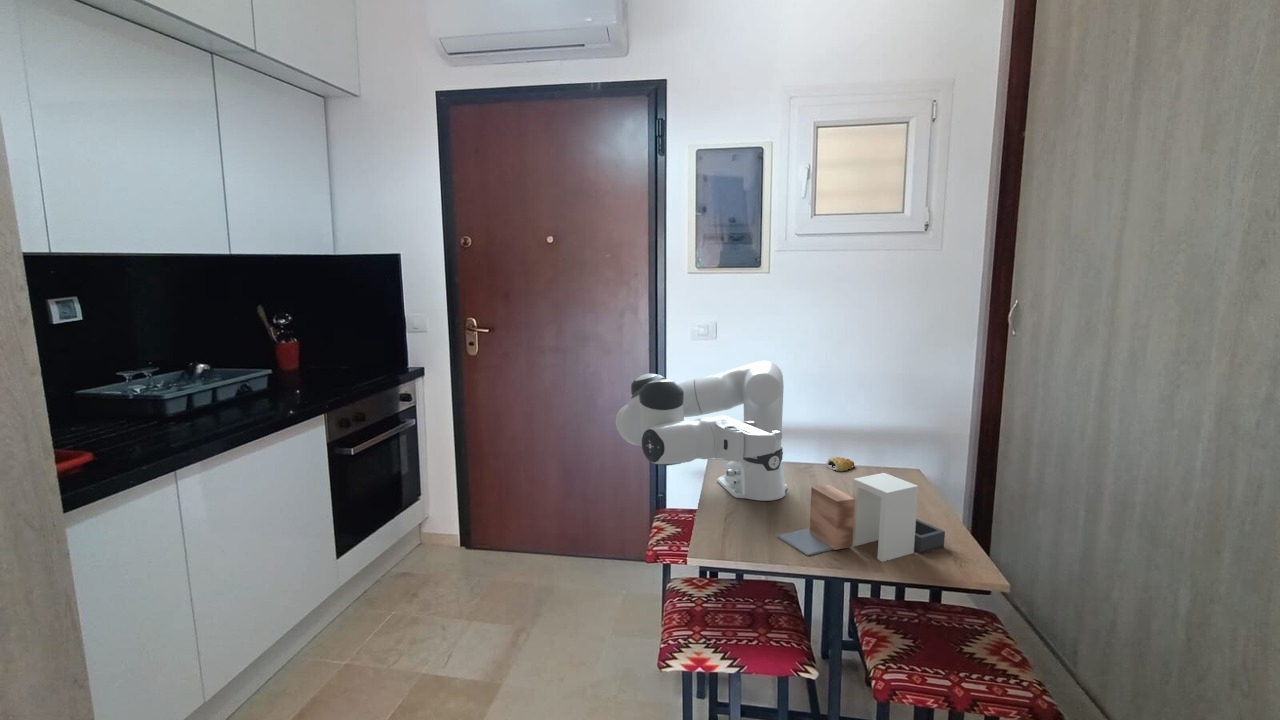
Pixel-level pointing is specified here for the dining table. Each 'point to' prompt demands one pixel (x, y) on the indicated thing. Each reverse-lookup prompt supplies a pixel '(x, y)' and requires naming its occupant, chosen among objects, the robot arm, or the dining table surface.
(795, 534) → the mat
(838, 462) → the pastry
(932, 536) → the bin
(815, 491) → the block
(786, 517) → the dining table surface
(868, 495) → the white arch frame
